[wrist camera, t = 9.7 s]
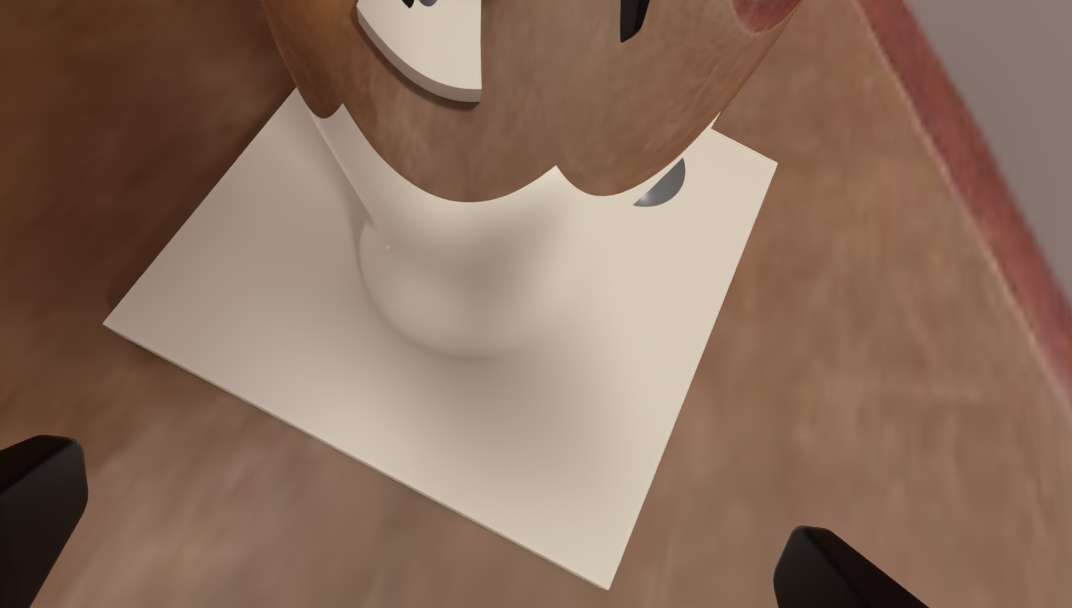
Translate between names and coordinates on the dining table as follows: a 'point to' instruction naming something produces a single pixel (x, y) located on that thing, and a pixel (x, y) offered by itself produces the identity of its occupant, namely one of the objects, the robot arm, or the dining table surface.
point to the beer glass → (507, 138)
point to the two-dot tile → (448, 382)
